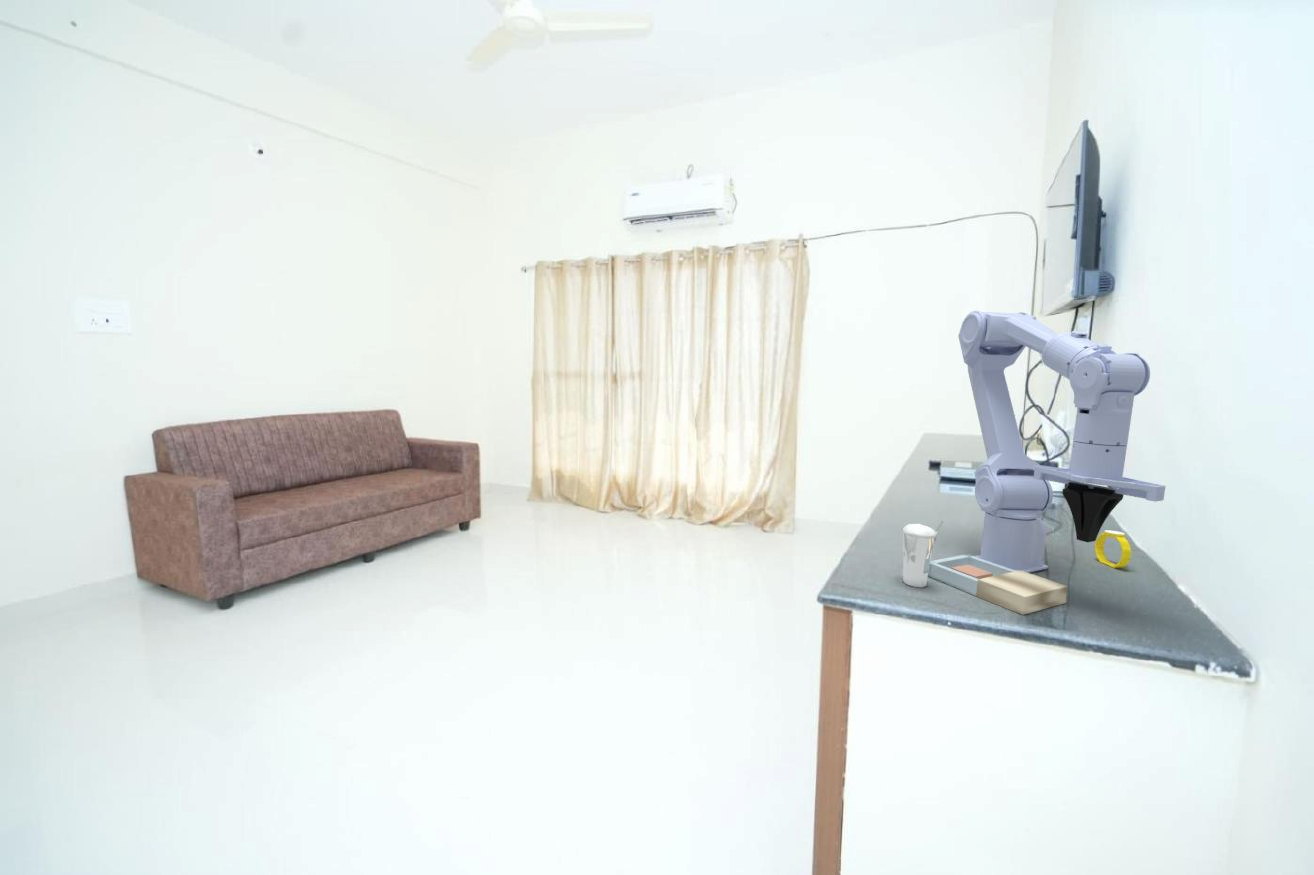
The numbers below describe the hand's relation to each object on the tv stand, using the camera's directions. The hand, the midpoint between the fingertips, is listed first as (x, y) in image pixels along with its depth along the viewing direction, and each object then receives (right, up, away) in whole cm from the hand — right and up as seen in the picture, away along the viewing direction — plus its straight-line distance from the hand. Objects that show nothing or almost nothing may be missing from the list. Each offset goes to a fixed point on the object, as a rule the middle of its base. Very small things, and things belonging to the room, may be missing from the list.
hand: (1086, 540), depth 75 cm
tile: (-11, -6, +8) cm, 15 cm away
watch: (+19, -8, +18) cm, 27 cm away
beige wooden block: (-7, -9, +2) cm, 12 cm away
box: (-11, -8, +9) cm, 16 cm away
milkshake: (-20, -8, +7) cm, 23 cm away
